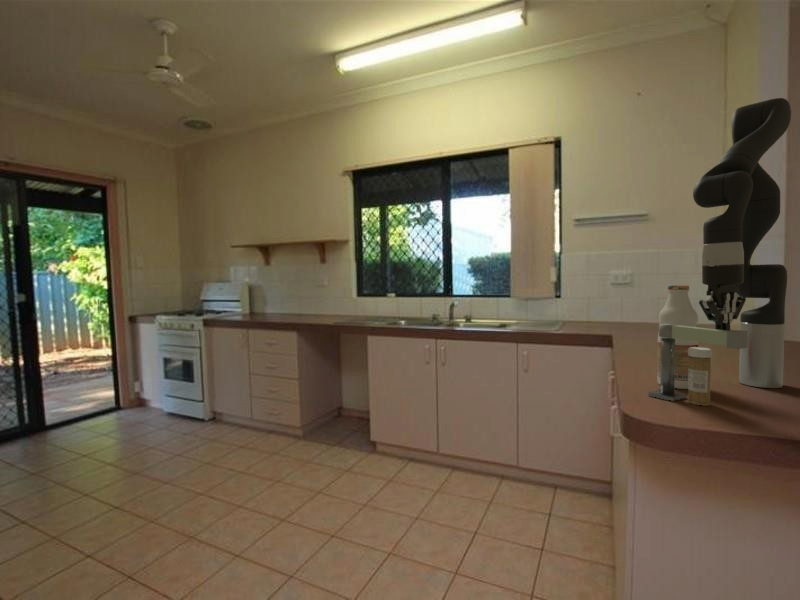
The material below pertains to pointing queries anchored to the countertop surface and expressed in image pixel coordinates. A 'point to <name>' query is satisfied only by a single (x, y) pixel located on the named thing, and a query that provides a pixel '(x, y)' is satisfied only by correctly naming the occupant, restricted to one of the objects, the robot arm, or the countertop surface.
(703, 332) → the swing bar
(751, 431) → the countertop surface
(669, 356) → the post
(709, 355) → the sprinkles bottle
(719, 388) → the countertop surface
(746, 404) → the countertop surface
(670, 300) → the fruit juice
